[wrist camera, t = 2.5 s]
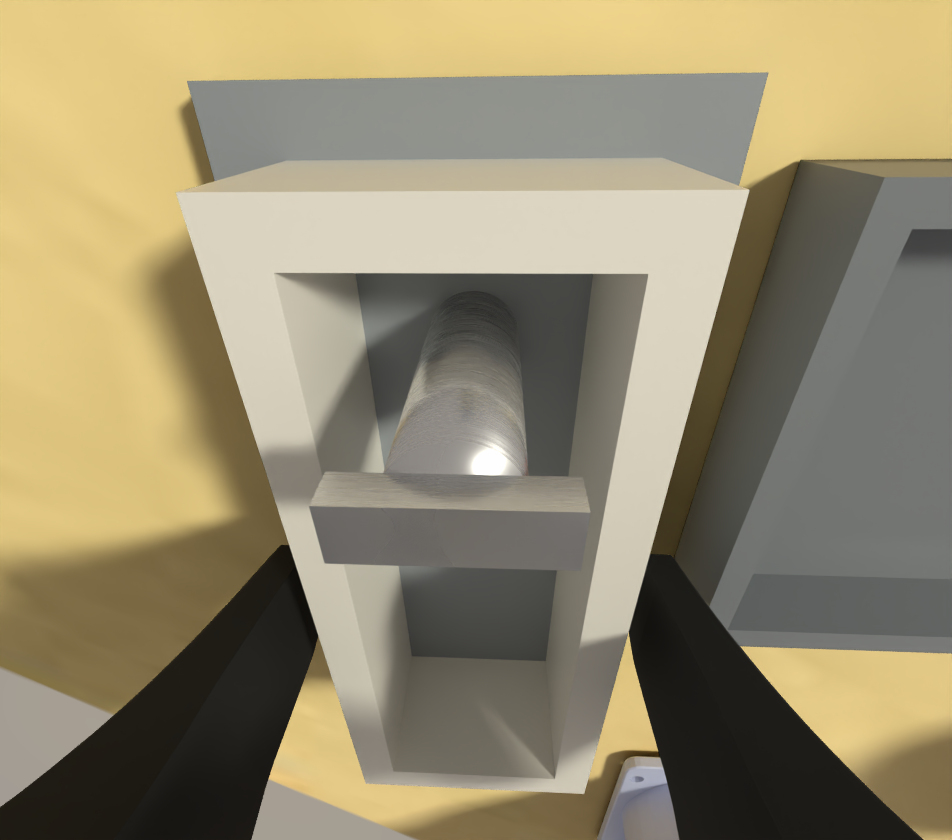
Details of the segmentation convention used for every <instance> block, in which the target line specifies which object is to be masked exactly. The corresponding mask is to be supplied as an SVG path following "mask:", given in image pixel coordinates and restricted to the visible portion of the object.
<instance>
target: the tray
mask: <svg viewBox="0 0 952 840" xmlns="http://www.w3.org/2000/svg"><path fill="white" fill-rule="evenodd" d="M674 559H675V560H676V562H677V563H678V565H679V566H680V567H681V569H682V570H683V572H684V573H685V574H686V576H687V577H688V579H689V580H690V581H691V583H692V584H693V586H694V587H695V588H696V590H697V591H698V592H699V594H700V595H701V596H702V598H703V599H704V601H705V602H706V603H707V605H708V606H709V607H710V609H711V610H712V611H713V613H714V614H715V615H716V617H717V618H718V619H719V621H720V622H721V623H722V624H723V626H724V627H725V628H726V630H727V631H728V632H729V633H730V635H731V636H732V637H733V638H734V640H735V641H736V642H737V643H738V645H739V646H750V647H779V648H808V649H837V650H866V651H895V652H924V653H952V159H870V160H800V163H799V166H798V169H797V172H796V176H795V179H794V182H793V185H792V188H791V191H790V195H789V198H788V201H787V204H786V207H785V210H784V213H783V217H782V220H781V223H780V226H779V229H778V232H777V236H776V239H775V242H774V245H773V248H772V251H771V255H770V258H769V261H768V264H767V267H766V270H765V273H764V277H763V280H762V283H761V286H760V289H759V292H758V296H757V299H756V302H755V305H754V308H753V311H752V315H751V318H750V321H749V324H748V327H747V330H746V333H745V337H744V340H743V343H742V346H741V349H740V352H739V356H738V359H737V362H736V365H735V368H734V371H733V374H732V378H731V381H730V384H729V387H728V390H727V393H726V397H725V400H724V403H723V406H722V409H721V412H720V416H719V419H718V422H717V425H716V428H715V431H714V434H713V438H712V441H711V444H710V447H709V450H708V453H707V457H706V460H705V463H704V466H703V469H702V472H701V475H700V479H699V482H698V485H697V488H696V491H695V494H694V498H693V501H692V504H691V507H690V510H689V513H688V517H687V520H686V523H685V526H684V529H683V532H682V535H681V539H680V542H679V545H678V548H677V551H676V554H675V558H674Z"/></svg>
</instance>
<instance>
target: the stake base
mask: <svg viewBox="0 0 952 840" xmlns="http://www.w3.org/2000/svg"><path fill="white" fill-rule="evenodd" d="M767 76H768V73H706V74H637V75H569V76H501V77H433V78H365V79H297V80H229V81H187V83H188V86H189V90H190V94H191V97H192V101H193V104H194V108H195V112H196V115H197V119H198V122H199V126H200V130H201V133H202V137H203V140H204V144H205V148H206V151H207V155H208V158H209V162H210V166H211V169H212V173H213V176H214V180H215V181H217V180H221V179H224V178H228V177H231V176H235V175H238V174H242V173H245V172H249V171H252V170H256V169H259V168H262V167H266V166H269V165H273V164H276V163H280V162H283V161H294V160H428V159H562V158H665V159H667V160H670V161H673V162H675V163H678V164H681V165H684V166H686V167H689V168H692V169H695V170H697V171H700V172H703V173H705V174H708V175H711V176H714V177H716V178H719V179H722V180H724V181H727V182H730V183H733V184H735V185H738V186H739V183H740V179H741V176H742V172H743V168H744V164H745V160H746V156H747V153H748V149H749V145H750V141H751V137H752V133H753V130H754V126H755V122H756V118H757V114H758V111H759V107H760V103H761V99H762V95H763V91H764V88H765V84H766V80H767ZM592 279H593V274H514V273H356V280H357V287H358V294H359V300H360V307H361V314H362V321H363V328H364V334H365V341H366V348H367V355H368V361H369V368H370V375H371V382H372V389H373V395H374V402H375V409H376V416H377V423H378V429H379V436H380V443H381V450H382V457H383V463H384V472H383V473H366V472H325V473H324V475H323V477H322V479H321V482H320V484H319V486H318V488H317V490H316V492H315V494H314V496H313V498H312V501H311V503H310V505H309V508H310V512H311V515H312V519H313V523H314V526H315V530H316V534H317V537H318V541H319V545H320V549H321V552H322V556H323V560H324V563H325V564H354V565H390V566H399V572H400V579H401V585H402V592H403V599H404V606H405V613H406V619H407V626H408V633H409V640H410V647H411V653H412V656H419V657H446V658H474V659H501V660H529V661H546V655H547V647H548V638H549V630H550V622H551V614H552V606H553V598H554V589H555V581H556V573H557V570H566V571H581V568H582V562H583V556H584V550H585V544H586V538H587V531H588V525H589V519H590V513H591V512H590V508H589V503H588V498H587V494H586V489H585V484H584V480H583V477H568V475H569V467H570V459H571V450H572V442H573V434H574V426H575V418H576V410H577V401H578V393H579V385H580V377H581V369H582V361H583V352H584V344H585V336H586V328H587V320H588V311H589V303H590V295H591V287H592Z"/></svg>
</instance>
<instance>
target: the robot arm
mask: <svg viewBox="0 0 952 840" xmlns="http://www.w3.org/2000/svg"><path fill="white" fill-rule="evenodd" d="M629 636H630V643H631V648H632V654H633V660H634V664H635V668H636V672H637V676H638V679H639V683H640V687H641V690H642V694H643V698H644V701H645V705H646V708H647V712H648V716H649V719H650V723H651V726H652V730H653V733H654V737H655V741H656V744H657V748H658V751H659V755H660V757H644V756H634V757H630V758H628V759H626V760H625V762H624V764H623V766H622V769H621V772H620V775H619V778H618V780H617V783H616V786H615V789H614V792H613V795H612V797H611V800H610V803H609V806H608V809H607V812H606V814H605V817H604V820H603V823H602V826H601V829H600V831H599V834H598V837H597V840H923V839H922V838H921V837H920V836H919V835H918V834H917V833H916V832H914V831H913V830H912V829H911V828H910V827H909V826H908V825H907V824H906V823H905V822H904V821H903V820H901V819H900V818H899V817H898V816H897V815H896V814H895V813H894V812H893V811H892V810H891V809H890V808H889V807H887V806H886V805H885V804H884V803H883V802H882V801H881V800H880V799H879V798H878V797H877V796H876V795H875V794H874V793H873V792H872V791H871V790H870V789H869V788H868V787H867V786H866V785H865V784H864V783H863V782H862V781H861V780H860V779H859V778H858V777H857V776H856V775H855V774H854V773H853V772H852V771H851V770H850V769H849V768H848V767H847V766H846V765H845V764H844V763H843V762H842V761H841V760H840V759H839V758H838V757H837V756H836V755H835V754H834V753H833V752H832V751H831V750H830V749H829V748H828V747H827V745H826V744H825V743H824V742H823V741H822V740H821V739H820V738H819V737H818V736H817V735H816V734H815V733H814V732H813V731H812V730H811V729H810V727H809V726H808V725H807V724H806V723H805V722H804V721H803V720H802V719H801V718H800V717H799V715H798V714H797V713H796V712H795V711H794V710H793V709H792V708H791V707H790V705H789V704H788V703H787V702H786V701H785V700H784V699H783V697H782V696H781V695H780V694H779V693H778V692H777V690H776V689H775V688H774V687H773V686H772V685H771V684H770V682H769V681H768V680H767V679H766V678H765V677H764V675H763V674H762V673H761V672H760V671H759V669H758V668H757V667H756V666H755V665H754V663H753V662H752V661H751V660H750V658H749V657H748V656H747V655H746V653H745V652H744V651H743V650H742V648H741V647H740V646H739V645H738V643H737V642H736V641H735V640H734V638H733V637H732V636H731V635H730V633H729V632H728V631H727V630H726V628H725V627H724V626H723V624H722V623H721V622H720V621H719V619H718V618H717V617H716V615H715V614H714V613H713V611H712V610H711V609H710V607H709V606H708V605H707V603H706V602H705V601H704V599H703V598H702V596H701V595H700V594H699V592H698V591H697V590H696V588H695V587H694V586H693V584H692V583H691V581H690V580H689V579H688V577H687V576H686V574H685V573H684V572H683V570H682V569H681V567H680V566H679V565H678V563H677V562H676V560H675V559H674V558H673V557H672V556H671V555H659V554H650V556H649V559H648V563H647V566H646V570H645V574H644V577H643V581H642V585H641V588H640V592H639V596H638V599H637V603H636V607H635V610H634V614H633V618H632V621H631V625H630V629H629ZM317 639H318V633H317V630H316V627H315V624H314V620H313V617H312V614H311V611H310V608H309V605H308V602H307V599H306V596H305V593H304V589H303V586H302V583H301V580H300V577H299V574H298V571H297V568H296V565H295V561H294V558H293V555H292V552H291V549H290V546H289V545H281V546H280V547H279V548H277V550H276V551H275V552H274V553H273V554H272V555H271V556H270V557H269V558H268V560H267V561H266V562H265V563H264V564H263V565H262V566H261V567H260V568H259V570H258V571H257V572H256V573H255V574H254V575H253V576H252V577H251V579H250V580H249V581H248V582H247V583H246V584H245V585H244V586H243V587H242V589H241V590H240V591H239V592H238V593H237V594H236V595H235V596H234V597H233V598H232V600H231V601H230V602H229V603H228V604H227V605H226V606H225V607H224V608H223V609H222V610H221V611H220V612H219V613H218V615H217V616H216V617H215V618H214V619H213V620H212V621H211V622H210V623H209V624H208V625H207V626H206V627H205V628H204V629H203V630H202V632H201V633H200V634H199V635H198V636H197V637H196V638H195V639H194V640H193V641H192V642H191V643H190V644H189V645H188V646H187V647H186V648H185V649H184V650H183V651H182V652H181V653H180V654H179V655H178V656H177V657H176V658H175V659H174V660H173V661H172V662H171V663H170V664H169V665H167V666H166V667H165V668H164V669H163V670H162V671H161V672H160V673H159V674H158V675H157V676H156V677H155V678H154V679H153V680H152V681H151V682H150V683H149V684H148V685H147V686H146V687H145V688H144V689H142V690H141V691H140V692H139V693H138V694H137V695H136V696H135V697H134V698H133V699H132V700H130V701H129V702H128V703H127V704H126V705H125V706H124V707H123V708H122V709H120V710H119V711H118V712H117V713H116V714H115V715H114V716H112V717H111V718H110V719H109V720H108V721H107V722H106V723H105V724H104V725H102V726H101V727H100V728H99V729H98V730H96V731H95V732H94V733H93V734H92V735H91V736H89V737H88V738H87V739H86V740H85V741H83V742H82V743H81V744H80V745H79V746H77V747H76V748H75V749H74V750H72V751H71V752H70V753H69V754H68V755H66V756H65V757H64V758H63V759H62V760H60V761H59V762H58V763H57V764H55V765H54V766H53V767H52V768H51V769H49V770H48V771H47V772H46V773H44V774H43V775H42V776H41V777H39V778H38V779H37V780H35V781H34V782H33V783H32V784H30V785H29V786H28V787H27V788H25V789H24V790H23V791H21V792H20V793H19V794H17V795H16V796H15V797H14V798H12V799H11V800H10V801H8V802H7V803H5V804H4V805H3V806H1V807H0V840H251V839H252V835H253V831H254V827H255V824H256V820H257V817H258V813H259V809H260V806H261V802H262V799H263V795H264V791H265V788H266V784H267V782H268V778H269V775H270V772H271V769H272V766H273V763H274V760H275V758H276V755H277V752H278V749H279V747H280V744H281V741H282V739H283V736H284V733H285V730H286V728H287V725H288V722H289V719H290V717H291V714H292V711H293V709H294V706H295V703H296V700H297V698H298V695H299V692H300V690H301V687H302V684H303V681H304V679H305V676H306V673H307V670H308V667H309V665H310V662H311V659H312V656H313V653H314V650H315V646H316V642H317Z"/></svg>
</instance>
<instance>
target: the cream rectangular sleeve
mask: <svg viewBox="0 0 952 840" xmlns="http://www.w3.org/2000/svg"><path fill="white" fill-rule="evenodd" d="M749 191H750V190H749V189H746V188H744V187H741V186H738V185H735V184H733V183H730V182H727V181H724V180H722V179H719V178H716V177H714V176H711V175H708V174H705V173H703V172H700V171H697V170H695V169H692V168H689V167H686V166H684V165H681V164H678V163H675V162H673V161H670V160H667V159H665V158H562V159H428V160H294V161H283V162H280V163H276V164H273V165H269V166H266V167H262V168H259V169H256V170H252V171H249V172H245V173H242V174H238V175H235V176H231V177H228V178H224V179H221V180H217V181H214V182H210V183H207V184H203V185H200V186H196V187H193V188H189V189H186V190H183V191H179V192H176V195H177V198H178V201H179V204H180V207H181V210H182V213H183V216H184V220H185V223H186V226H187V229H188V232H189V235H190V238H191V241H192V244H193V248H194V251H195V254H196V257H197V260H198V263H199V266H200V269H201V272H202V275H203V279H204V282H205V285H206V288H207V291H208V294H209V297H210V300H211V303H212V307H213V310H214V313H215V316H216V319H217V322H218V325H219V328H220V331H221V335H222V338H223V341H224V344H225V347H226V350H227V353H228V356H229V359H230V363H231V366H232V369H233V372H234V375H235V378H236V381H237V384H238V387H239V390H240V394H241V397H242V400H243V403H244V406H245V409H246V412H247V415H248V418H249V422H250V425H251V428H252V431H253V434H254V437H255V440H256V443H257V446H258V450H259V453H260V456H261V459H262V462H263V465H264V468H265V471H266V474H267V478H268V481H269V484H270V487H271V490H272V493H273V496H274V499H275V502H276V505H277V509H278V512H279V515H280V518H281V521H282V524H283V527H284V530H285V533H286V537H287V540H288V543H289V546H290V549H291V552H292V555H293V558H294V561H295V565H296V568H297V571H298V574H299V577H300V580H301V583H302V586H303V589H304V593H305V596H306V599H307V602H308V605H309V608H310V611H311V614H312V617H313V620H314V624H315V627H316V630H317V633H318V636H319V639H320V642H321V645H322V648H323V652H324V655H325V658H326V661H327V664H328V667H329V670H330V673H331V676H332V680H333V683H334V686H335V689H336V692H337V695H338V698H339V701H340V704H341V708H342V711H343V714H344V717H345V720H346V723H347V726H348V729H349V732H350V735H351V739H352V742H353V745H354V748H355V751H356V754H357V757H358V760H359V763H360V767H361V770H362V773H363V776H364V779H365V782H366V784H386V785H407V786H428V787H449V788H470V789H491V790H512V791H533V792H554V793H575V794H584V793H585V789H586V785H587V782H588V778H589V775H590V771H591V767H592V764H593V760H594V756H595V753H596V749H597V745H598V742H599V738H600V734H601V731H602V727H603V723H604V720H605V716H606V712H607V709H608V705H609V702H610V698H611V694H612V691H613V687H614V683H615V680H616V676H617V672H618V669H619V665H620V661H621V658H622V654H623V650H624V647H625V643H626V639H627V636H628V632H629V629H630V625H631V621H632V618H633V614H634V610H635V607H636V603H637V599H638V596H639V592H640V588H641V585H642V581H643V577H644V574H645V570H646V566H647V563H648V559H649V556H650V552H651V548H652V545H653V541H654V537H655V534H656V530H657V526H658V523H659V519H660V515H661V512H662V508H663V504H664V501H665V497H666V494H667V490H668V486H669V483H670V479H671V475H672V472H673V468H674V464H675V461H676V457H677V453H678V450H679V446H680V442H681V439H682V435H683V431H684V428H685V424H686V421H687V417H688V413H689V410H690V406H691V402H692V399H693V395H694V391H695V388H696V384H697V380H698V377H699V373H700V369H701V366H702V362H703V358H704V355H705V351H706V348H707V344H708V340H709V337H710V333H711V329H712V326H713V322H714V318H715V315H716V311H717V307H718V304H719V300H720V296H721V293H722V289H723V285H724V282H725V278H726V275H727V271H728V267H729V264H730V260H731V256H732V253H733V249H734V245H735V242H736V238H737V234H738V231H739V227H740V223H741V220H742V216H743V212H744V209H745V205H746V202H747V198H748V194H749ZM356 273H514V274H593V279H592V287H591V295H590V303H589V311H588V320H587V328H586V336H585V344H584V352H583V361H582V369H581V377H580V385H579V393H578V401H577V410H576V418H575V426H574V434H573V442H572V450H571V459H570V467H569V475H568V477H583V480H584V484H585V489H586V494H587V498H588V503H589V508H590V512H591V513H590V519H589V525H588V531H587V538H586V544H585V550H584V556H583V562H582V568H581V571H566V570H557V573H556V581H555V589H554V598H553V606H552V614H551V622H550V630H549V638H548V647H547V655H546V661H529V660H501V659H474V658H446V657H419V656H412V653H411V647H410V640H409V633H408V626H407V619H406V613H405V606H404V599H403V592H402V585H401V579H400V572H399V566H390V565H354V564H325V563H324V560H323V556H322V552H321V549H320V545H319V541H318V537H317V534H316V530H315V526H314V523H313V519H312V515H311V512H310V508H309V505H310V503H311V501H312V498H313V496H314V494H315V492H316V490H317V488H318V486H319V484H320V482H321V479H322V477H323V475H324V473H325V472H366V473H383V472H384V463H383V457H382V450H381V443H380V436H379V429H378V423H377V416H376V409H375V402H374V395H373V389H372V382H371V375H370V368H369V361H368V355H367V348H366V341H365V334H364V328H363V321H362V314H361V307H360V300H359V294H358V287H357V280H356Z"/></svg>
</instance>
